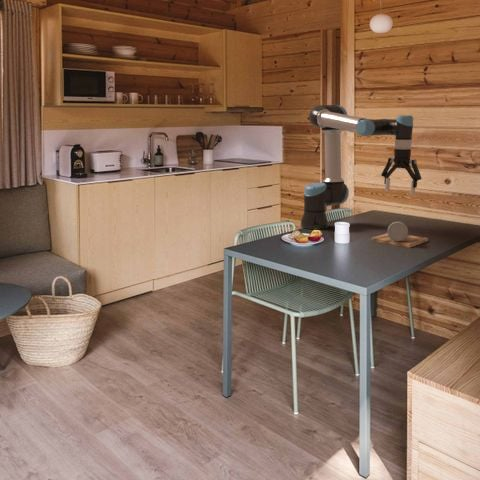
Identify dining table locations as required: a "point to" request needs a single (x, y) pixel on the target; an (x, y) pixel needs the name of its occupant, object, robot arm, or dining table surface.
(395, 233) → the disposable coffee cup
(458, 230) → the dining table surface
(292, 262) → the dining table surface
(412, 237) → the oak board
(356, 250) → the dining table surface
